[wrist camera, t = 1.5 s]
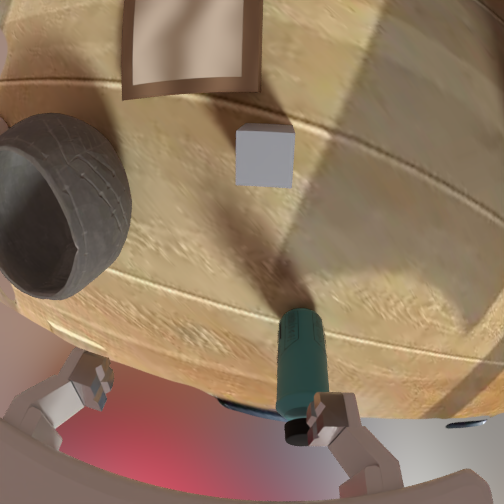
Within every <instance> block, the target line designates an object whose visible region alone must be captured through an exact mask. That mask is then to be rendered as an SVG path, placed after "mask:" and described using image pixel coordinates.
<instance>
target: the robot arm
mask: <svg viewBox="0 0 504 504" xmlns="http://www.w3.org/2000/svg"><path fill="white" fill-rule="evenodd" d="M109 365H110V360H109V358H107V357H104V356H101V355H98V354H95V353H92V352H89V351H86V350H83V349H80V348H77V347H76V348H74V349H73V350H72V352H71V353H70V355H69V357H68V358H67V360H66V362H65V363H64V365H63V367H62V369H61V370H60V372H59V374H58V375H53V376H51V377H49V378H48V379H46V380H44V381H42V382H40V383H38V384H37V385H35V386H33V387H31V388H29V389H27V390H25V391H24V392H22V393H20V394H18V395H16V396H15V397H14V399H13V401H12V402H11V404H10V406H9V408H8V410H7V412H6V413H5V416H4V417H3V419H2V418H0V504H493V499H492V494H491V490H490V487H489V485H488V483H487V482H486V481H485V480H484V479H483V478H481V477H480V476H479V475H478V474H476V473H475V472H474V471H472V470H471V469H463V470H460V471H457V472H455V473H452V474H449V475H446V476H443V477H440V478H437V479H433V480H430V481H427V482H423V483H420V484H416V485H412V486H408V487H404V485H403V480H402V475H401V470H400V465H399V461H398V460H397V459H396V458H395V457H394V456H393V455H392V454H391V453H390V452H389V451H388V450H387V449H386V448H385V447H384V446H383V445H382V444H381V443H380V442H379V441H378V440H377V439H376V438H375V436H374V435H373V434H372V433H371V432H370V431H369V430H368V429H367V428H366V427H365V426H362V425H361V421H360V416H359V411H358V407H357V402H356V398H355V395H354V393H341V392H317V393H316V394H315V395H314V401H312V402H310V404H309V406H308V409H307V414H306V421H307V424H308V425H309V426H310V429H309V431H308V432H307V434H308V446H329V447H328V448H329V450H330V451H331V452H332V454H333V455H334V457H335V458H336V459H337V461H338V462H339V464H340V465H341V466H342V468H343V469H344V470H345V472H346V473H347V474H348V476H349V477H350V479H349V480H347V481H346V482H344V483H343V484H342V485H340V486H339V492H340V499H331V500H318V501H294V502H276V501H251V500H238V499H228V498H219V497H211V496H204V495H198V494H192V493H187V492H182V491H177V490H172V489H168V488H163V487H159V486H155V485H151V484H147V483H144V482H140V481H137V480H133V479H130V478H127V477H123V476H120V475H117V474H114V473H111V472H109V471H106V470H103V469H100V468H98V467H95V466H93V465H90V464H88V463H85V462H83V461H80V460H78V459H76V458H73V457H71V456H69V455H67V454H65V453H62V452H60V451H59V448H60V445H61V443H62V437H61V436H60V435H59V434H58V433H57V431H56V430H55V429H56V428H57V427H58V426H59V425H61V424H62V423H63V422H65V421H66V420H67V419H69V418H70V417H71V416H73V415H74V414H75V413H77V412H78V411H79V410H81V409H82V408H83V407H84V406H87V407H89V408H93V409H96V410H99V411H102V410H103V407H104V405H105V402H106V400H107V398H106V395H105V394H106V393H107V392H109V391H111V388H112V386H113V381H114V373H113V370H112V369H111V368H110V367H109Z"/></svg>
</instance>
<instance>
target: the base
mask: <svg viewBox="0 0 504 504" xmlns="http://www.w3.org/2000/svg"><path fill="white" fill-rule="evenodd" d="M262 20H263V0H125V1H124V13H123V30H122V101H123V100H130V99H139V98H147V97H155V96H165V95H176V94H190V93H211V92H261V60H262Z"/></svg>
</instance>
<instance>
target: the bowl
mask: <svg viewBox="0 0 504 504" xmlns="http://www.w3.org/2000/svg"><path fill="white" fill-rule="evenodd" d="M131 210H132V199H131V194H130V188H129V183H128V179H127V176H126V173H125V170H124V167H123V165H122V163H121V161H120V159H119V157H118V155H117V154H116V152H115V150H114V148H113V147H112V145H111V143H110V142H109V140H108V139H106V138H105V137H104V136H103V135H102V134H101V133H100V132H99V131H98V130H96V129H95V128H94V127H92V126H90V125H89V124H87V123H85V122H83V121H82V120H79V119H77V118H74V117H71V116H68V115H64V114H58V113H45V114H37V115H33V116H30V117H28V118H26V119H24V120H22V121H20V122H18V123H17V124H15V125H13V126H12V127H11V128H9V129H8V130H7V131H5V132H4V133H3V134H1V135H0V270H1V272H2V274H3V275H4V276H5V277H6V278H7V279H8V280H9V281H10V282H11V283H12V284H13V285H14V286H15V287H16V288H17V289H19V290H20V291H22V292H24V293H26V294H28V295H30V296H32V297H35V298H40V299H51V300H63V299H66V298H68V297H71V296H73V295H74V294H76V293H78V292H79V291H81V290H82V289H83V288H84V287H86V286H87V285H88V284H89V283H90V282H92V281H93V280H94V279H95V278H97V277H98V276H99V275H100V274H101V273H102V272H103V271H105V270H106V269H107V268H108V267H109V266H110V265H111V264H112V263H113V262H114V261H115V260H116V259H117V257H118V256H119V254H120V252H121V250H122V247H123V245H124V243H125V240H126V238H127V234H128V231H129V227H130V219H131Z"/></svg>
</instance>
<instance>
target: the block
mask: <svg viewBox="0 0 504 504" xmlns="http://www.w3.org/2000/svg"><path fill="white" fill-rule="evenodd" d="M294 145H295V131H294V128H293V125H281V124H261V123H245V124H244V125H243V126H241V127H240V128H239V129H238V130H236V185H244V186H263V187H279V188H292V175H293V161H294Z"/></svg>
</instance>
